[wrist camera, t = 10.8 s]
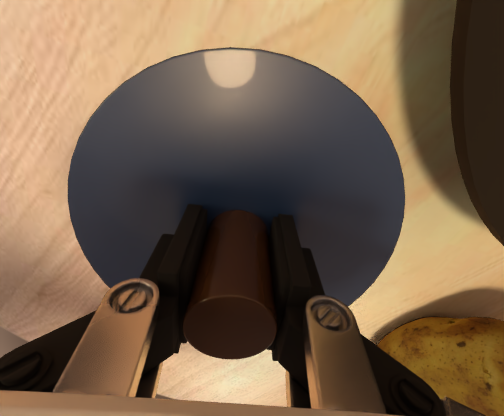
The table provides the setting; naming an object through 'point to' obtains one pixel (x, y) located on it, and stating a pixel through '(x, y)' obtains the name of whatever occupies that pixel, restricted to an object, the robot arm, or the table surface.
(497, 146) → the plate
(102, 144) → the lid
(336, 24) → the table surface
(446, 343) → the potato
